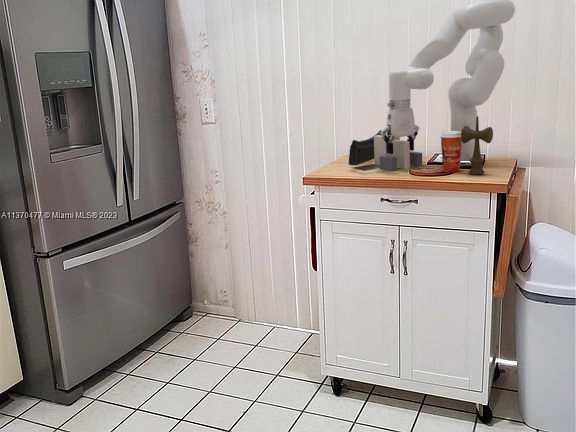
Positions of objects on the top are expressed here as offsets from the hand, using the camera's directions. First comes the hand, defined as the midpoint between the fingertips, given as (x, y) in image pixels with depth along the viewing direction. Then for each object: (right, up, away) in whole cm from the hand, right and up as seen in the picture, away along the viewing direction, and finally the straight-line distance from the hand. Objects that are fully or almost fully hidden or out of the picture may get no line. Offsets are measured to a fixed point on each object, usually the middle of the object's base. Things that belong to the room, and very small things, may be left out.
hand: (400, 151), depth 220 cm
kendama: (+24, -9, -14) cm, 29 cm away
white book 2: (-1, -3, +11) cm, 11 cm away
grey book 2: (+6, -6, +5) cm, 9 cm away
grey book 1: (-4, -8, -1) cm, 9 cm away
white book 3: (+1, -7, +2) cm, 7 cm away
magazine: (-8, -1, +25) cm, 26 cm away
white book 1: (-5, -4, +8) cm, 11 cm away
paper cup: (+17, -8, -6) cm, 20 cm away
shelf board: (-8, -6, +8) cm, 13 cm away
